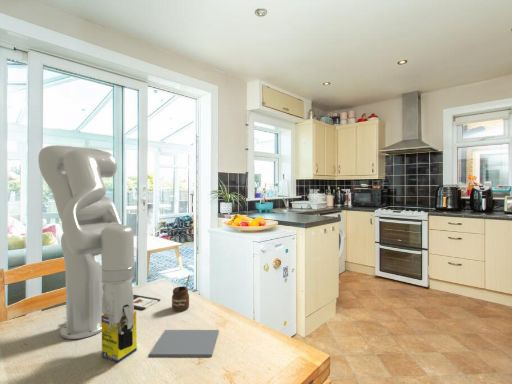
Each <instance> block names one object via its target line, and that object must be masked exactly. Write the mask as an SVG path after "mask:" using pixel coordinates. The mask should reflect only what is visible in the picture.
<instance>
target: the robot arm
mask: <svg viewBox="0 0 512 384" xmlns="http://www.w3.org/2000/svg"><path fill="white" fill-rule="evenodd" d="M37 157H38V167H39V171H40V173H41V176H42V178H43V180H44V181H45V183H46V184H47V186H48V188H49V189H50V191H51V193H52V195H53V198H54V199H53V200H54V203H55V206H56V210H57V214H58V216H59V219H60V222H61V228H62V234H61V237H60V246H61V250H62V251H61V252H62V255H63V261H64V269H65V272H64V273H65V274H64V275H65V302H66V304H65V307H66V310H65V311H66V313H65V314H66V316H65V317H66V324H64V325H63V326H62V327H61V329H60V331H59V332H60V333H59V334H60V336H61V337H62V338H63V339H67V340H77V339H78V340H79V339H85V338H88V337H91V336H94V335H97V334H99V333H102V325H101V316H102V315H104V314H105V315H106V316H107V317H108V319H109V321H110V322H111V323H112V324H113V325H116V324H117V323H118V324H119V331H120V333H119V334H118V348H119V350H122V349H125V348H128V347H130V346H132V345H133V335H132V331H133V322H134V320H133V316H134V310H135V309H134V301H133V295H134V290H133V281H132V280H134V279H135V256H134V255H135V247H134V246H135V245H134V239H135V238H134V229H133V228H132V226H130V225H124V224H123V223H122V220H121V218H120V215H119V212H118V209H117V207H116V205H115V203H114V201H113V200H112V199H111V198H110V197H107V196H106V194H107V189H106V185H105V183H104V181H103V178H105V179H106V178H112V177H113V176H115V174H116V173H117V171H118V170H117V169H118V165H117V164H118V163H117V161H116V158H115V157H114V156H113V155H112V154H111V153H110V152H108V151H105V150H101V149H97V148H92V147H91V148H90V147H81V146H70V145H48V146H45V147H43V148H41V150H40V151H39V154H38V156H37ZM99 255H101V257H100V260H101V265H100V264H99V263H98V262H97V260H95V259H94V257H95V256H99ZM121 317H125V319H123V320H121ZM124 322H126V325H124V327H122V323H124Z"/></svg>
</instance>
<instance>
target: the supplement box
mask: <svg viewBox="0 0 512 384" xmlns="http://www.w3.org/2000/svg"><path fill="white" fill-rule="evenodd" d="M123 319H125V317H121V320H123ZM133 320H134V322H133V331H132V335H133V345H132V346H130V347H128V348H125V349H122V350H119V348H118V334H119V333H120V331H119V324H118V323H117V324H116V325H113V324H112V323H111V322H110V321H109V319H108V317H107V316H106V315H105V314H104V315H102V316H101V325H102V331H101V357H102V358H104V359H107V360H111V361H113V362H115V363H116V364H119V363H121V362H122V361H124V360H125V359H126V358H128V357H129V356H130V355H132V354H133V353H135V352H136V351H137V350H138V349H137V310H136V309H134V316H133ZM124 325H126V322H124V323H122V327H124Z"/></svg>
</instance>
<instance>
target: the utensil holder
mask: <svg viewBox="0 0 512 384" xmlns="http://www.w3.org/2000/svg"><path fill="white" fill-rule="evenodd" d="M190 275H191V274H189V275H188V277H187V280H186V283H185V285H186V286H177V287H176V286H175V283H176V282H178V279H177V276H176V277H173V278H172V280H171V282H172V284H173V282H174V280H176V282H174V285H172V286H173V290H172V296H171V308H172V310H173V311H174V312H178V313H180V312H185V311H186V310H187V311H188V309H189V307H190V294H189V290H188V284H189V281H190V277H191V276H190Z"/></svg>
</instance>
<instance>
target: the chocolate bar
mask: <svg viewBox="0 0 512 384" xmlns="http://www.w3.org/2000/svg"><path fill="white" fill-rule="evenodd" d="M133 301H134V310H139V311H145V310H147V309H148V308H150V307H152V306H154V305H155V304H157V303H159V302H160V301H161V299H160V298H155V297H150V296H145V295H139V294H138V295H137V294H133Z"/></svg>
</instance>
